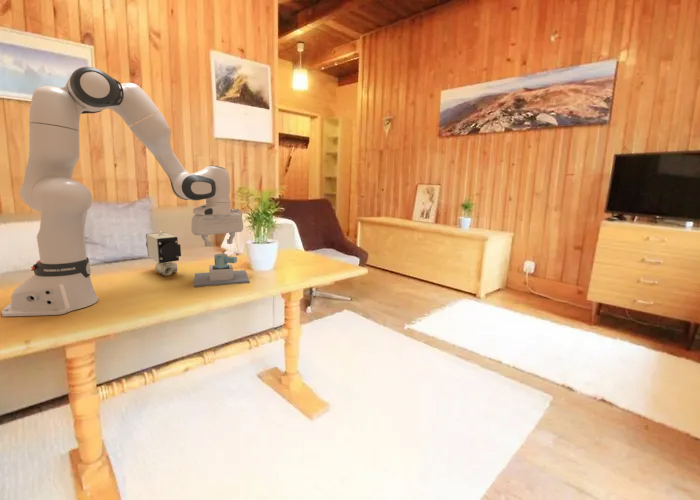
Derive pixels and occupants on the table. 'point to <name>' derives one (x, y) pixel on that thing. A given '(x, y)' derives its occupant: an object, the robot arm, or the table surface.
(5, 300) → the table surface
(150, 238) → the ball valve
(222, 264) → the elbow
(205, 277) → the grey base plate
